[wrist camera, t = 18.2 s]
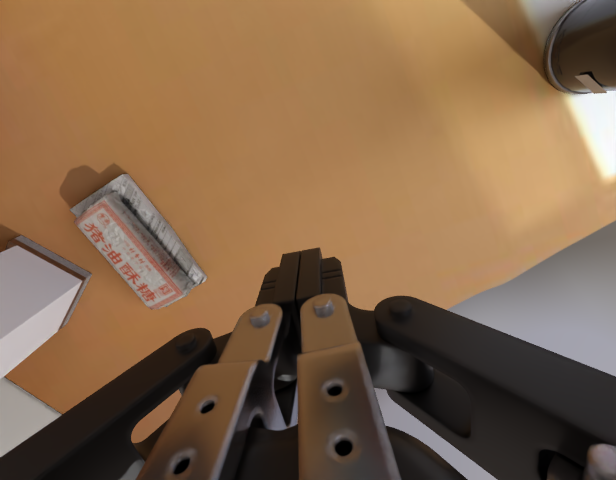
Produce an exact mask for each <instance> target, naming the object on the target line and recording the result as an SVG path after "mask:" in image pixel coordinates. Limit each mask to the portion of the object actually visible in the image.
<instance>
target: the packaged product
mask: <svg viewBox="0 0 616 480" xmlns="http://www.w3.org/2000/svg"><path fill="white" fill-rule="evenodd" d="M70 211H71V212H72V213H74V215H75V216H76V217H77V218H76V219H75V221H74V223H75V224H76V225H77V226H78V228H79V229H80V230H81V231H82V232H83V234H84V235H85V236H86V237H87V238H88V239H89V240H90V242H91V243H92V244H93V245H94V246H95V247H96V248H97V250H98V251H99V252H100V253H101V254H102V255H103V256H104V257H105V259H106V260H107V261H108V262H109V263H110V264H111V265H112V266H113V268H114V269H115V270H116V271H117V272H118V273H119V274H120V275H121V277H122V278H123V279H124V280H125V281H126V282H127V283H128V285H129V286H130V287H131V288H132V289H133V290H134V292H135V293H136V294H137V295H138V296H139V297H140V299H141V300H142V301H143V302H144V303H145V305H146V306H147V307H149V308H150V309H160V308H162V307H167V306H169V305H170V304H172V303H173V302H175V301H178V300H179V299H180V298H183V297H186V296H187V295H188V294H189V293H190V290H191V289H192V288H194V287H196V286H198V285H200V284H201V283H203V282H204V281H205V280H206V278H207V276H206V275H205V273H204V272H203V271H202V270H201V268H200V267H199V266H198V264H197V263H196V262H195V260H194V259H193V258H192V256H191V255H190V253H189V252H188V250H187V249H186V248H185V246H184V245H183V243H182V242H181V240H180V239H179V238H178V236H177V235H176V233H175V232H174V230H173V229H172V227H171V226H170V225H169V224H168V223H167V222H166V220H165V219H164V218H163V217H162V216H161V214H160V213H159V212H158V211H157V210H156V208H155V207H154V206H153V205H152V203H151V202H150V201H149V200H148V198H147V197H146V196H145V195H144V193H143V192H142V191H141V190H140V188H139V187H138V186H137V185H136V183H135V182H134V181H133V180H132V178H131V177H130V176H129V175H128V174H122V175H120V176H118V177H117V178H115V179H114V180H112V181H111V182H109V183H108V184H107V185H105V186H104V187H102V188H100V189H99V190H97V191H96V192H94V193H93V194H91V195H90V196H89V197H87V198H86V199H84V200H83V201H81V202H80V203H79V204H77V205H76V206H74V207H73V208H71V209H70Z"/></svg>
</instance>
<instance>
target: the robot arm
mask: <svg viewBox="0 0 616 480" xmlns="http://www.w3.org/2000/svg"><path fill="white" fill-rule="evenodd" d="M544 68H545V72H546V75H547V78H548V79H549V81H550V83H551V84H552V85H553V86H554V87H555V88H556V89H558V90H560V91H562V92H564V93H568V94H587V93H592V92H593V93H594V94H595V93H607V92H606V91H615V90H616V0H581V1H580V2H578V3H577V4H575V5H574V6H573V7H571V8H570V9H569V10H568V11H567V12H566V13H565V14H564V15H563V16H562V17H561V18H560V20H559V21H558V22H557V24H556V25H555V27H554V28H553V30H552V32H551V34H550V36H549V38H548V41H547V44H546V48H545V53H544ZM374 388H381V389H386V390H387V393H388V395H389V397H390V398H391V399H392V400H393V401H394V402H395V403H397V404H398V405H400V406H401V407H402V408H403V409H405V410H406V411H408V412H409V413H410V414H411V415H413V416H414V417H415V418H417V419H418V420H419V421H421V422H422V423H423V424H425V425H426V426H427V427H429V428H430V429H431V430H433V431H434V432H435V433H437V434H438V435H439V436H441V437H442V438H443V439H445V440H446V441H447V442H449V443H450V444H451V445H453V446H454V447H455V448H457V449H458V450H459V451H461V452H462V453H463V454H464V455H466V456H467V457H468V458H470V459H471V460H472V461H474V462H475V463H476V464H478V465H479V466H480V467H482V468H483V469H484V470H486V471H487V472H488V473H490V474H491V475H492V476H494V477H495V478H496V479H498V480H616V377H615V376H612V375H610V374H608V373H605V372H602V371H600V370H597V369H595V368H592V367H590V366H587V365H585V364H582V363H580V362H577V361H574V360H572V359H569V358H567V357H564V356H562V355H559V354H557V353H554V352H552V351H549V350H546V349H544V348H541V347H539V346H536V345H534V344H531V343H529V342H526V341H523V340H521V339H519V338H516V337H513V336H511V335H508V334H506V333H503V332H501V331H498V330H495V329H493V328H491V327H488V326H485V325H482V324H480V323H477V322H475V321H473V320H470V319H468V318H465V317H462V316H460V315H457V314H455V313H452V312H450V311H447V310H445V309H442V308H440V307H437V306H435V305H432V304H429V303H427V302H424V301H422V300H419V299H417V298H414V297H409V296H394V297H390V298H387V299H384V300H382V301H381V302H380V303H378V304H377V306H376V307H375V309H374V311H369V310H361V309H358V308H355V307H353V306H352V305H350V304H349V303H348V297H347V292H346V287H345V282H344V277H343V271H342V266H341V262H340V261H339V260H338V259H336V258H335V257H330V258H325V259H322V254H321V250H320V248H314V249H308V250H303V251H302V252H301V251H298V252H292V253H287V254H283V255H282V259H281V263H280V267H276V268H272V269H271V270H270V271H269V272H268V273H267V274H266V275H265V277H264V280H263V284H262V286H261V291H260V292H259V295H258V298H257V301H256V305H255V307H253V308H251V309H249V310H247V311H246V312H245V313H243V314H242V315H241V317H240V318H239V320H238V322H237V324H236V326H235V328H234V330H233V332H230V333H228V334H225V335H223V336H220V337H217V338H215V339H213V338H212V335H211V333H210V331H209V330H207V329H205V328H196V329H191V330H188V331H186V332H183V333H181V334H180V335H178V336H176V337H175V338H173V339H172V340H170V341H169V342H168V343H166V344H165V345H163V346H162V347H160V348H159V349H157V350H156V351H154V352H153V353H152V354H150V355H149V356H147V357H146V358H144V359H143V360H141V361H140V362H138V363H137V364H136V365H134V366H133V367H131V368H130V369H128V370H127V371H125V372H124V373H122V374H121V375H120V376H118V377H117V378H115V379H114V380H112V381H111V382H109V383H108V384H106V385H105V386H104V387H102V388H101V389H99V390H98V391H96V392H95V393H93V394H92V395H90V396H89V397H87V398H86V399H85V400H83V401H82V402H80V403H79V404H77V405H76V406H74V407H73V408H71V409H70V410H69V411H67V412H66V413H64V414H63V415H61V416H60V417H58V418H57V419H55V420H54V421H53V422H51V423H50V424H48V425H47V426H45V427H44V428H42V429H41V430H39V431H38V432H37V433H35V434H34V435H32V436H31V437H29V438H28V439H26V440H25V441H23V442H22V443H21V444H19V445H18V446H16V447H15V448H13V449H12V450H10V451H9V452H7V453H6V454H5V455H3V456H2V457H0V480H467V479H466V478H465V477H464V476H463V475H462V474H460V473H459V472H458V471H457V470H456V469H455V468H453V467H452V466H451V465H450V464H449V463H448V462H446V461H445V460H444V459H443V458H442V457H441V456H440V455H438V454H437V453H436V452H435V451H434V450H432V449H431V448H430V447H429V446H427V445H425V444H424V443H423V442H421V441H420V440H418V439H417V438H415V437H413V436H411V435H409V434H407V433H405V432H403V431H400V430H398V429H395V428H392V427H388V426H385V424H384V420H383V417H382V413H381V410H380V407H379V404H378V400H377V397H376V393H375V390H374ZM178 389H179V391H180V393H181V395H182V396H181V398H180V400H179V402H178V404H177V406H176V407H175V409H174V411H173V413H172V415H171V416H170V418H169V419H168V420H167V421H166V422H165V423H164V424H162V425H161V426H160V427H159V428H158V429H157V430H156V431H154V432H153V433H152V434H151V435H150V436H149V437H147V438H146V439H145V440H143V441H142V442H139V443H132V441H131V434H132V431H133V429H134V427H135V426H136V424H137V423H138V422H139V421H140V420H141V419H142V418H144V417H145V416H146V415H147V414H148V413H150V412H151V411H152V410H153V409H155V408H156V407H157V406H158V405H159V404H161V403H162V402H163V401H164V400H166V399H167V398H168V397H169V396H170V395H172V394H173V393H174V392H175V391H177V390H178ZM297 416H298V424H297V425H296V423H297Z"/></svg>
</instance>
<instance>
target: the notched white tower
mask: <svg viewBox="0 0 616 480" xmlns="http://www.w3.org/2000/svg"><path fill="white" fill-rule="evenodd" d="M91 275H92V274H91V273H89V272H87V271H86V270H84V269H82V268H80V267H78V266H76V265H75V264H73V263H71V262H69V261H67V260H66V259H64V258H62V257H60V256H58V255H57V254H55V253H53V252H51V251H49V250H47V249H46V248H44V247H42V246H40V245H38V244H37V243H35V242H33V241H31V240H29V239H28V238H26V237H24V236H22V235H21V236H19V237H16V238H14V239H11V240H9V241H8V244H7V246H6V249H5V251H3V252H1V253H0V379H1V378H3V377H4V376H5V375H6V374H7V373H9V372H10V371H11V370H12V369H13V368H15V367H16V366H17V365H18V364H19V363H20V362H22V361H23V360H24V359H25V358H26V357H28V356H29V355H30V354H31V353H32V352H34V351H35V350H36V349H37V348H38V347H40V346H41V345H42V344H43V343H44V342H46V341H47V340H48V339H49V338H50V337H51V336H53V335H54V334H55V333H56V332H57V331H59V330H60V329H61V328H62V327H63V326H65V325H66V324H67V323H68V321H69V319H70V317H71V315H72V313H73V311H74V309H75V307H76V305H77V303H78V301H79V299H80V297H81V295H82V293H83V291H84V289H85V287H86V285H87V283H88V281H89V279H90V277H91Z"/></svg>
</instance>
